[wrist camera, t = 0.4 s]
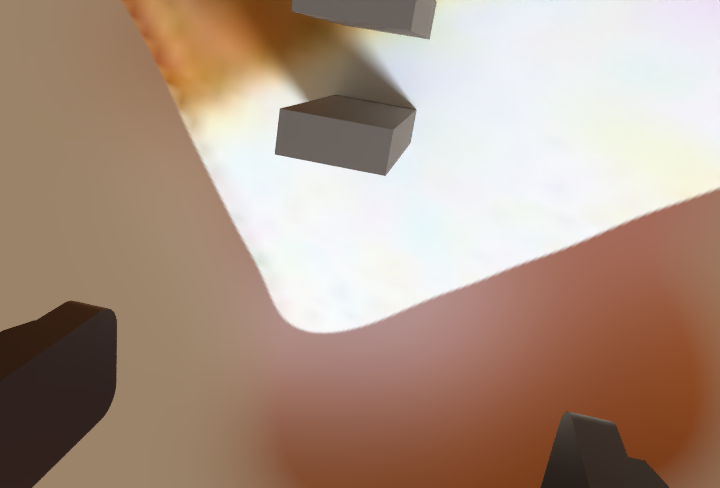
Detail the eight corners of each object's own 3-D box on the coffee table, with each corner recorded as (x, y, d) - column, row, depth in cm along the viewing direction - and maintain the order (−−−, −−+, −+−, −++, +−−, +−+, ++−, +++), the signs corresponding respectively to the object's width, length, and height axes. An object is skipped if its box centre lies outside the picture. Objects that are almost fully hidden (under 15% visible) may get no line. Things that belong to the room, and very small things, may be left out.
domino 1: (350, -12, 35) (297, -42, 24) (436, 2, 34) (420, -23, 24) (344, 25, 35) (291, 11, 25) (429, 39, 35) (410, 30, 24)
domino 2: (334, 95, 36) (280, 108, 26) (416, 109, 36) (393, 129, 25) (330, 128, 37) (274, 154, 27) (410, 143, 36) (385, 175, 26)
